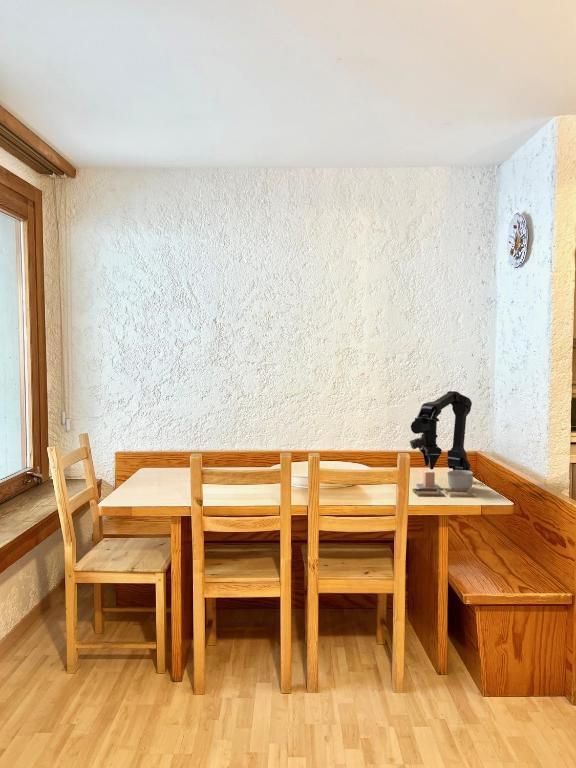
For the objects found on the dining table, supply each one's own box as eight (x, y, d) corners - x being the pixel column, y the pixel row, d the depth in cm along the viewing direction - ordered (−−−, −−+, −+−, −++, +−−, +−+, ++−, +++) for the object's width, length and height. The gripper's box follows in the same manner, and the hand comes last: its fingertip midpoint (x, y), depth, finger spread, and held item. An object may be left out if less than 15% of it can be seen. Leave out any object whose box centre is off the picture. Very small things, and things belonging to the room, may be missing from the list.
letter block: (423, 485, 292) (423, 470, 292) (432, 485, 292) (432, 470, 292) (425, 486, 288) (425, 472, 288) (434, 486, 288) (434, 472, 288)
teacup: (473, 493, 284) (473, 474, 283) (447, 491, 286) (448, 473, 286) (471, 486, 297) (471, 469, 297) (446, 485, 300) (446, 467, 299)
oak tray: (442, 492, 284) (442, 489, 284) (468, 492, 284) (468, 489, 284) (449, 498, 273) (449, 494, 273) (476, 498, 273) (476, 494, 273)
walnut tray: (412, 492, 285) (412, 488, 285) (437, 492, 285) (437, 488, 285) (418, 497, 274) (418, 494, 274) (444, 497, 274) (444, 494, 274)
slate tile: (416, 487, 295) (416, 483, 295) (436, 487, 295) (436, 484, 295) (420, 491, 286) (421, 488, 286) (441, 491, 286) (441, 488, 286)
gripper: (407, 429, 298) (406, 463, 299) (416, 434, 279) (415, 471, 280) (431, 429, 298) (430, 463, 299) (442, 434, 280) (441, 471, 280)
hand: (428, 467), depth 290 cm, fingers open, 9 cm apart
